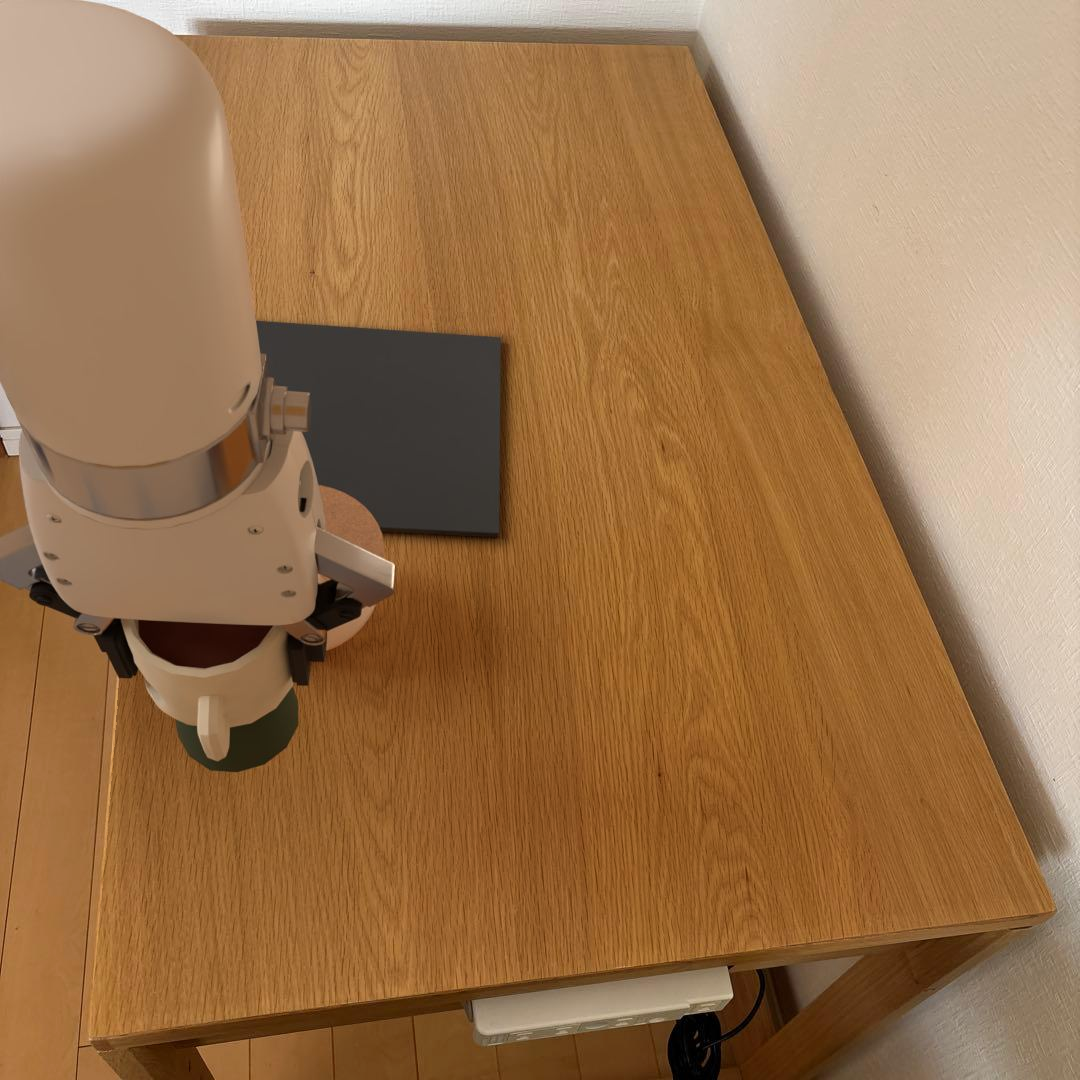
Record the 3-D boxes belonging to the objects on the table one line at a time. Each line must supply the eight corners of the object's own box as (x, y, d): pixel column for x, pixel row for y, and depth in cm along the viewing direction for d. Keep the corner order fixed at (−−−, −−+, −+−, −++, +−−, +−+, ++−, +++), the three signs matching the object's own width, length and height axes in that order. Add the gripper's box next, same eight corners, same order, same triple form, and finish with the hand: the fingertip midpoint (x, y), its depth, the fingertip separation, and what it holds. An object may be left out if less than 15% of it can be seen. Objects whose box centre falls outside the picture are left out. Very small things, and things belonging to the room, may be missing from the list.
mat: (195, 522, 74) (193, 518, 74) (236, 324, 85) (235, 318, 85) (498, 537, 76) (499, 533, 76) (500, 341, 87) (500, 337, 87)
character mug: (176, 635, 57) (129, 502, 46) (306, 628, 59) (290, 497, 48) (164, 828, 52) (107, 727, 41) (309, 815, 53) (291, 714, 42)
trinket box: (216, 564, 72) (193, 486, 65) (365, 531, 75) (361, 452, 68) (244, 698, 67) (223, 630, 59) (403, 657, 70) (403, 588, 62)
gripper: (422, 347, 37) (410, 594, 51) (-96, 306, 35) (47, 575, 49) (410, 521, 33) (401, 735, 47) (-178, 486, 31) (4, 721, 45)
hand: (220, 652), depth 48 cm, fingers closed on character mug, 7 cm apart
